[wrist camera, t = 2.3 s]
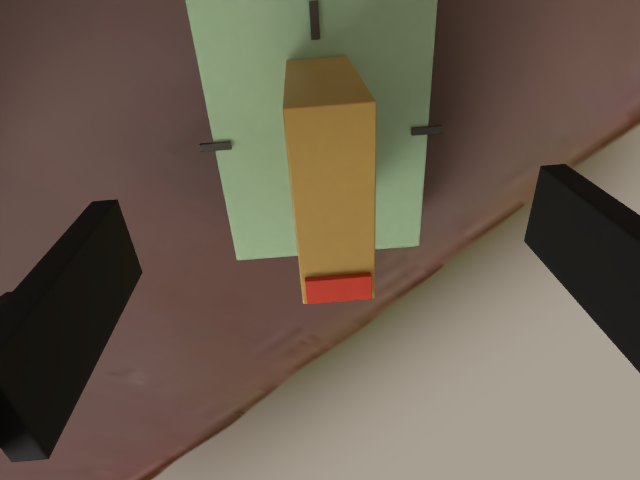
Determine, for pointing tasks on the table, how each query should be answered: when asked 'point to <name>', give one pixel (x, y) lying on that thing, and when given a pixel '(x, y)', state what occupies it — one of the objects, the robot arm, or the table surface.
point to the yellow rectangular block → (332, 177)
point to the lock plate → (267, 103)
